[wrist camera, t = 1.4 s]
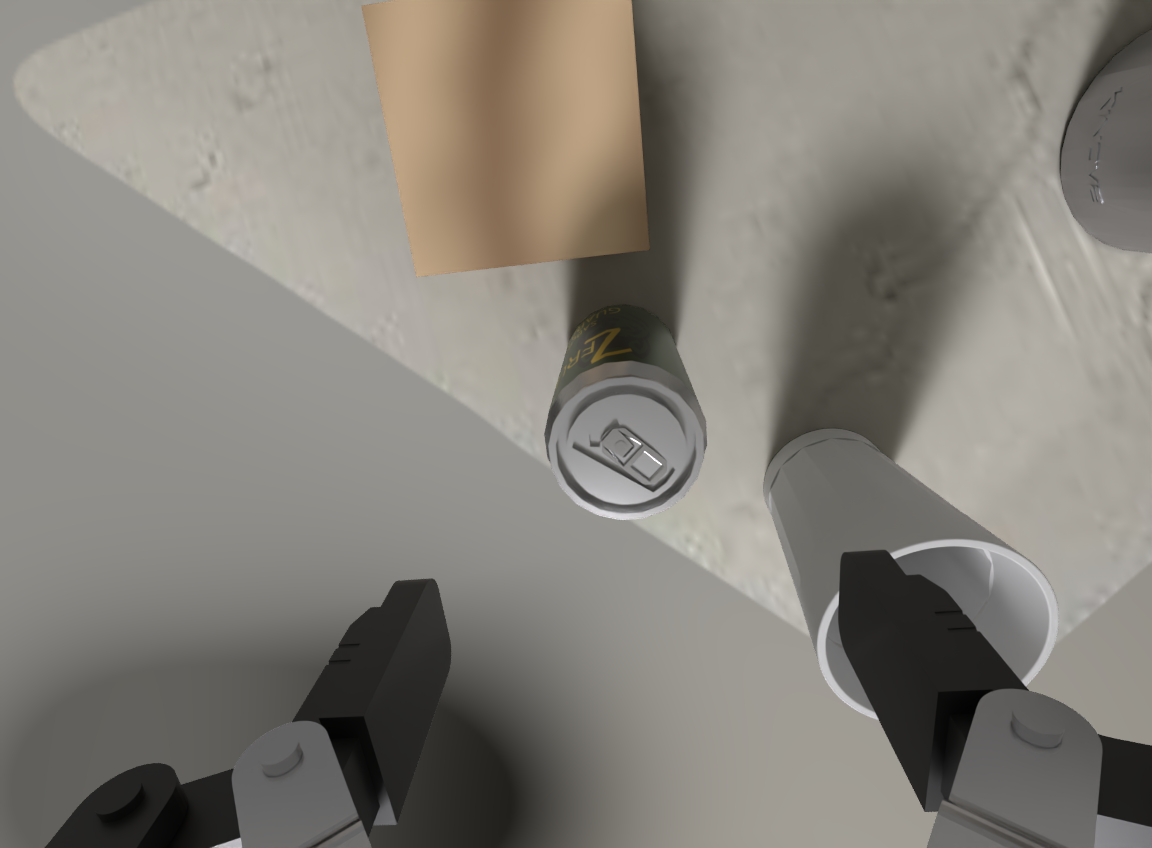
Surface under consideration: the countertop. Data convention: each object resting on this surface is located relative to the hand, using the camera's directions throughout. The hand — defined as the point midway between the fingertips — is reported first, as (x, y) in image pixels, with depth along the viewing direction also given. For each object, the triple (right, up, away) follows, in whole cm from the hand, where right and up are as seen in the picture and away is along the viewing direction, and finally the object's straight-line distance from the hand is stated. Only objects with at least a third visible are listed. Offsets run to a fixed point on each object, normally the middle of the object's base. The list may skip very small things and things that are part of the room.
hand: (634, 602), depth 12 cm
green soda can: (+1, +7, +19) cm, 20 cm away
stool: (-3, +16, +15) cm, 22 cm away
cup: (+12, 0, +20) cm, 24 cm away
